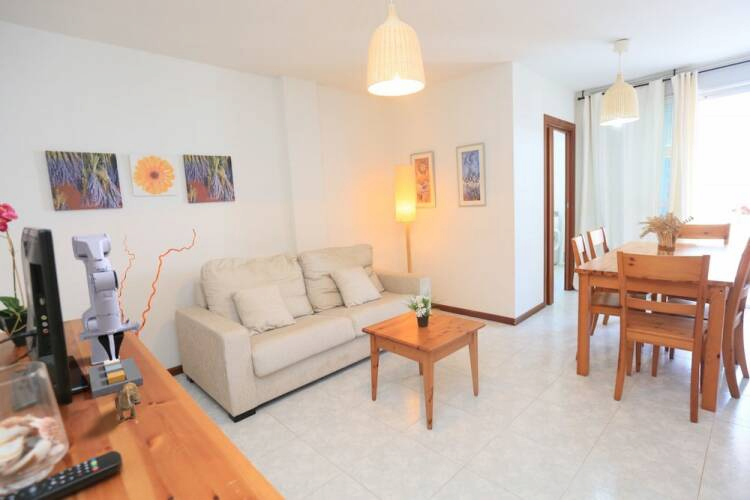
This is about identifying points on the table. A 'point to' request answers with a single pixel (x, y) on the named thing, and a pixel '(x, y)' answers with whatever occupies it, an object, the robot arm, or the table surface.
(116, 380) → the orange button
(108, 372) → the slate-blue button
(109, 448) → the table surface
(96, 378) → the button board
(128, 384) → the lion figurine
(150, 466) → the table surface
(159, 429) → the table surface
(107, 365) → the cream button
